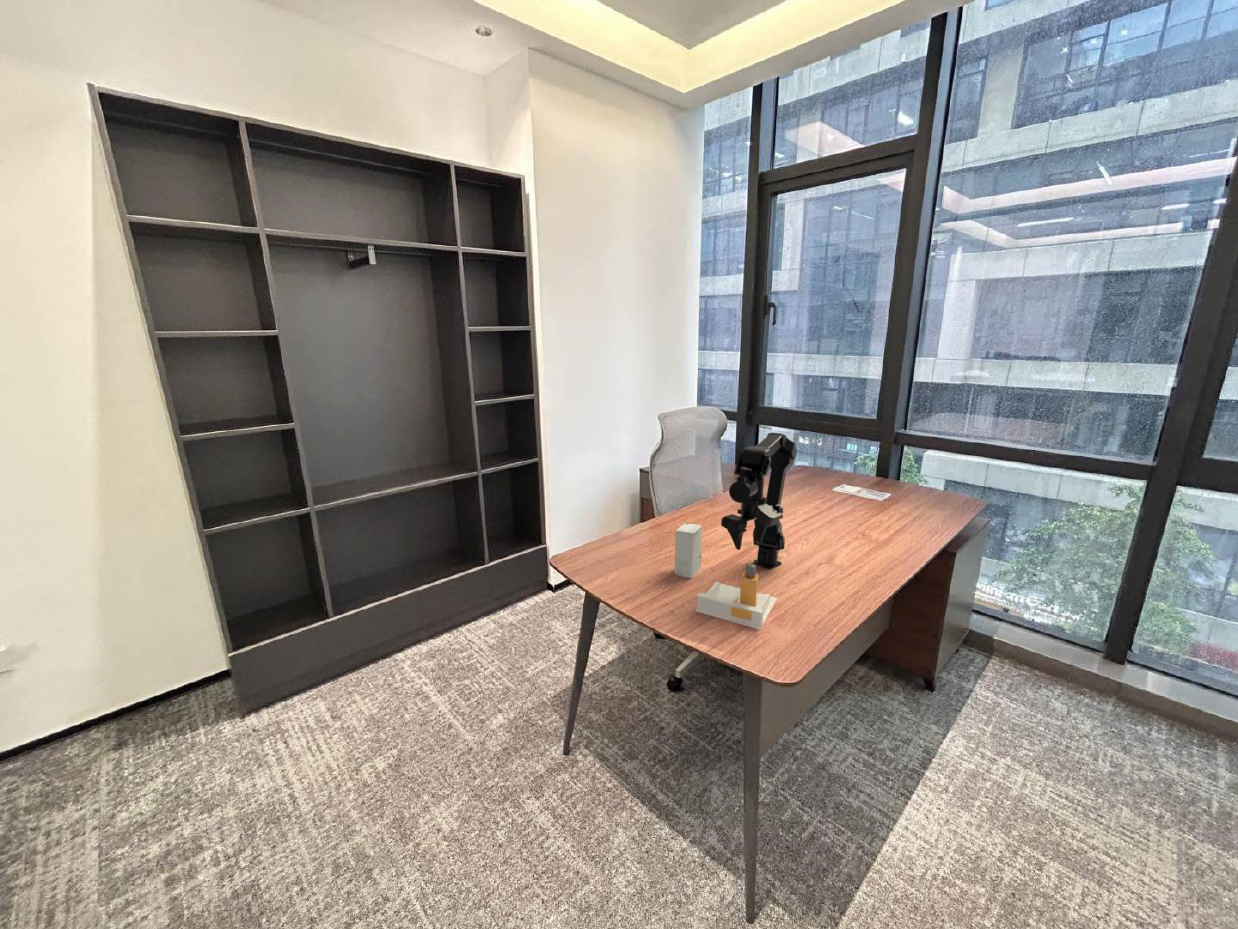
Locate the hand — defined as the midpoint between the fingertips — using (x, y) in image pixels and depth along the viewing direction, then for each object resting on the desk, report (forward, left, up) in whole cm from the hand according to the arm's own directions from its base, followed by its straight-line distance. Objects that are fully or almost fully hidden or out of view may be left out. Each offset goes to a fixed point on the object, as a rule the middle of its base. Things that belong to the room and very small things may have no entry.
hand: (748, 545), depth 142 cm
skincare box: (+7, -17, -13) cm, 23 cm away
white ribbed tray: (+11, +6, -13) cm, 18 cm away
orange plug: (+11, +9, -12) cm, 19 cm away
